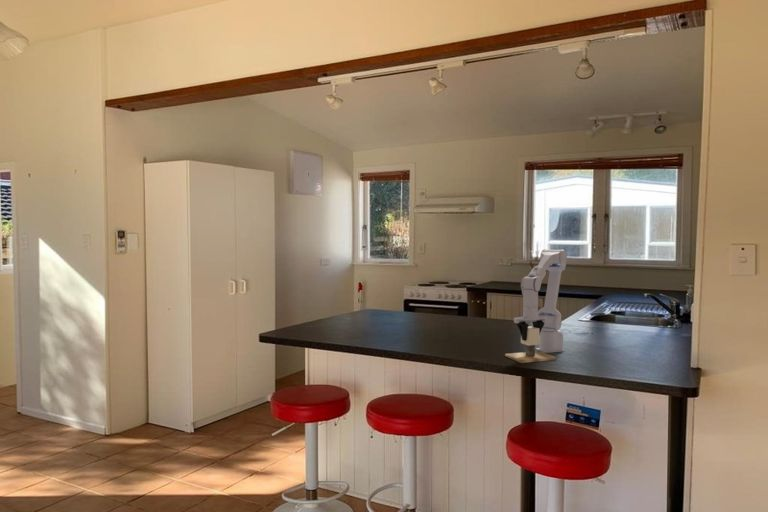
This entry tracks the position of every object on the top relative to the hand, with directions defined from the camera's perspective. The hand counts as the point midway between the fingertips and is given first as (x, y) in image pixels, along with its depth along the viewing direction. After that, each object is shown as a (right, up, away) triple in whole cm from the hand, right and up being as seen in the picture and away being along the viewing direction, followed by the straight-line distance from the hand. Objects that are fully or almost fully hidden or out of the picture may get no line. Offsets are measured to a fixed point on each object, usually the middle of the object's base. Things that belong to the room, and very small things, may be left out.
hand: (530, 339), depth 221 cm
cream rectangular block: (0, -2, 0) cm, 2 cm away
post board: (0, -8, 0) cm, 8 cm away
